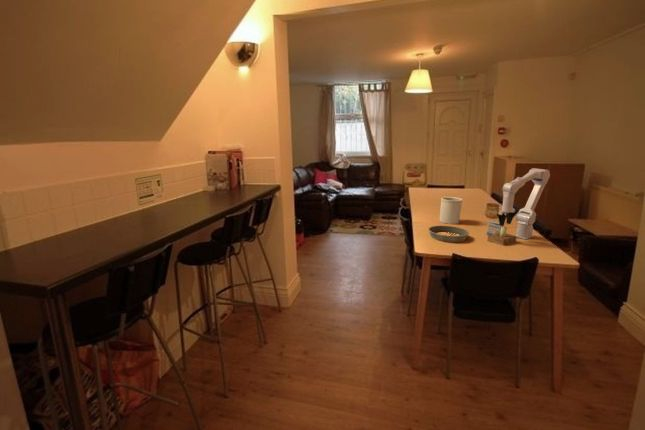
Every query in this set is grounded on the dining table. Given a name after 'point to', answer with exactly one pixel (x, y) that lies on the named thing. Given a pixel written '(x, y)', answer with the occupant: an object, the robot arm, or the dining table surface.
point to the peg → (503, 231)
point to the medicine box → (493, 227)
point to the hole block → (502, 239)
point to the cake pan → (450, 229)
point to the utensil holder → (450, 210)
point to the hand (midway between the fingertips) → (505, 224)
